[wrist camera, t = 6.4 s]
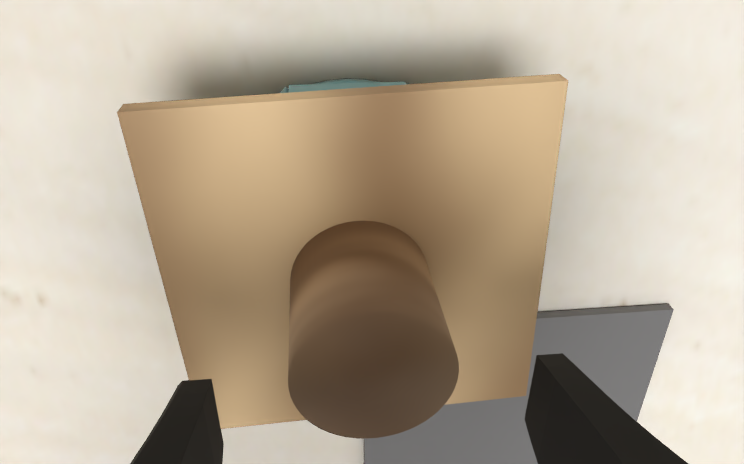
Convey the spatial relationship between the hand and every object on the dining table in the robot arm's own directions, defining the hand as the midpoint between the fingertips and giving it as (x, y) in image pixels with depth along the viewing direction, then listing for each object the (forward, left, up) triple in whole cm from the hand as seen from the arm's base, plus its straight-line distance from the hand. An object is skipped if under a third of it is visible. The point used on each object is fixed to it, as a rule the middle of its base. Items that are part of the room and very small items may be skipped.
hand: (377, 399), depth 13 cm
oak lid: (0, 0, -5) cm, 5 cm away
